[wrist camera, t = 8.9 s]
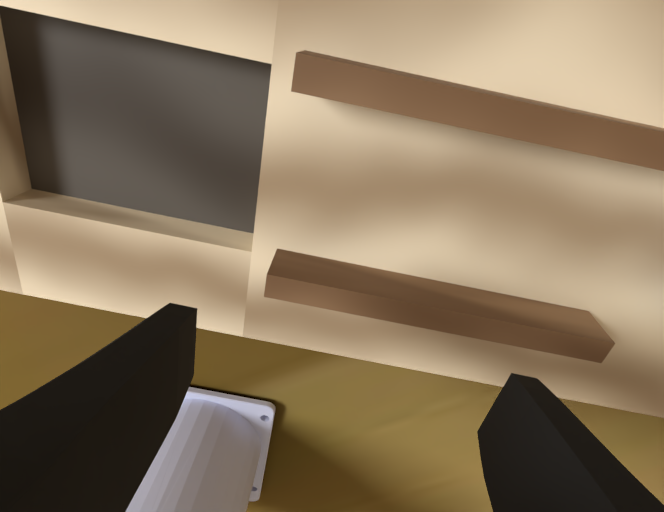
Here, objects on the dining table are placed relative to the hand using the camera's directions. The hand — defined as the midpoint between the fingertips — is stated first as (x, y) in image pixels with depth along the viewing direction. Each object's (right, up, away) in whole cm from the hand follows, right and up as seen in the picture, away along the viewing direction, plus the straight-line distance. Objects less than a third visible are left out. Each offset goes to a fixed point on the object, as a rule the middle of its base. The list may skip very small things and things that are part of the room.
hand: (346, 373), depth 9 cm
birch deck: (+3, +6, +7) cm, 10 cm away
